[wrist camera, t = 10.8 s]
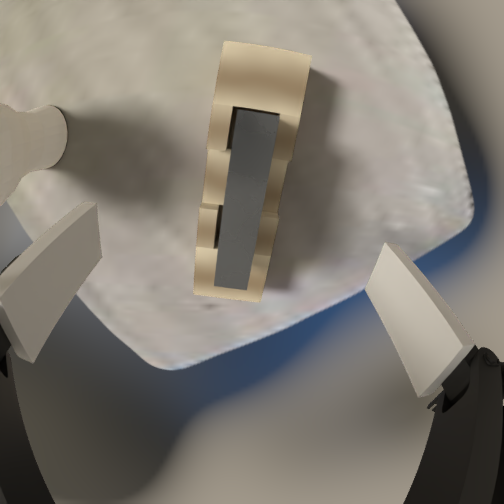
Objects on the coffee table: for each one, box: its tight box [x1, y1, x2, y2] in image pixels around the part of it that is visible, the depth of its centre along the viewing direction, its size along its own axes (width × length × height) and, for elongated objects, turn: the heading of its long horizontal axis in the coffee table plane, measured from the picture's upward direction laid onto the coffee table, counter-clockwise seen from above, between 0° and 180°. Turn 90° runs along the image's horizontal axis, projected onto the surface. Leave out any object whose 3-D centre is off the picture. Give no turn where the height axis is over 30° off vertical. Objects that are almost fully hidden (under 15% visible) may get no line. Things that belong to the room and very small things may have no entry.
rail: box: [193, 41, 312, 302], centre depth 24 cm, size 24×7×4 cm, turn 171°
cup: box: [0, 103, 67, 206], centre depth 15 cm, size 11×11×15 cm
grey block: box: [214, 109, 280, 290], centre depth 21 cm, size 13×3×8 cm, turn 171°
